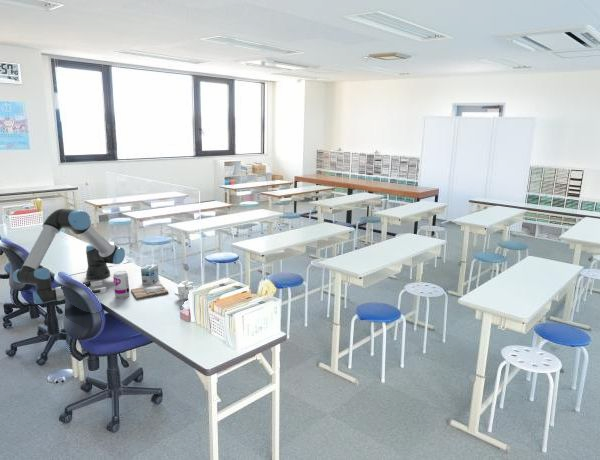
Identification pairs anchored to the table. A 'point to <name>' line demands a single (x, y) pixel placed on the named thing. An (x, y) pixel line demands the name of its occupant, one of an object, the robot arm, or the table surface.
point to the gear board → (149, 291)
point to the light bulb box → (149, 274)
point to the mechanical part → (184, 289)
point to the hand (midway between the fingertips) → (104, 285)
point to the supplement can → (121, 284)
